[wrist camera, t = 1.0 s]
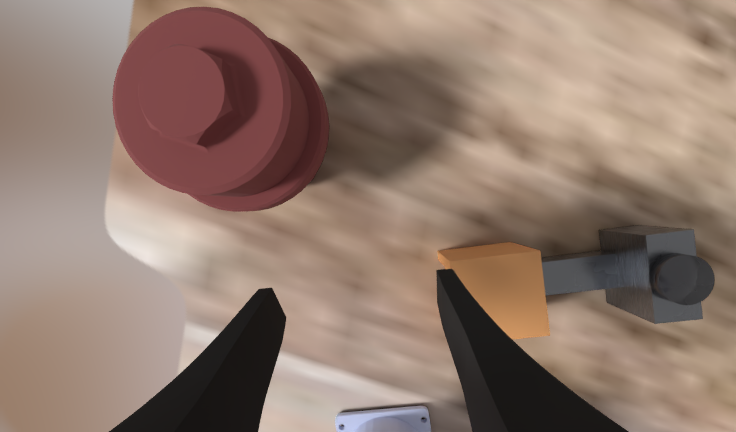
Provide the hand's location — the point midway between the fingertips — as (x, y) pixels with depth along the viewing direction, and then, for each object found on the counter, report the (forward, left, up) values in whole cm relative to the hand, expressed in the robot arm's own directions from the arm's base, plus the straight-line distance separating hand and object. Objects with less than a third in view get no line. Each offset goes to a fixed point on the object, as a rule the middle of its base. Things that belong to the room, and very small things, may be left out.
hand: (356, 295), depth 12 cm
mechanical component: (+9, +6, -12) cm, 16 cm away
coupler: (-4, -16, -11) cm, 20 cm away
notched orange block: (-4, -9, -11) cm, 15 cm away
